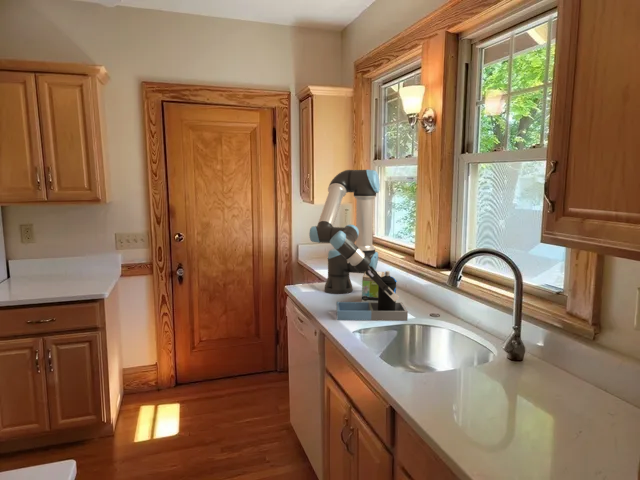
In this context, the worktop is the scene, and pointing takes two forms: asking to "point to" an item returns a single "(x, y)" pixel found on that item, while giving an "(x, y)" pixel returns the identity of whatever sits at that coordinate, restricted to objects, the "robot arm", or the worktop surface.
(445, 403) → the worktop surface
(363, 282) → the tea box
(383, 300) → the black bottle
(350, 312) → the tray
